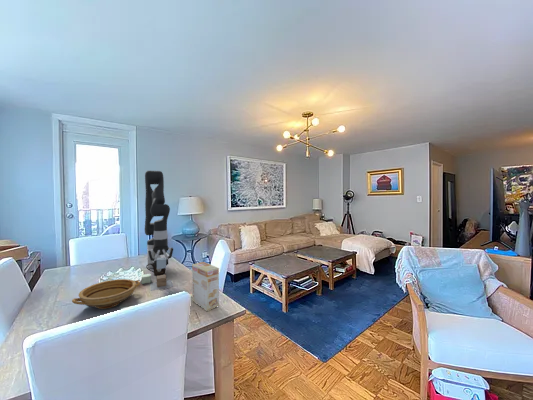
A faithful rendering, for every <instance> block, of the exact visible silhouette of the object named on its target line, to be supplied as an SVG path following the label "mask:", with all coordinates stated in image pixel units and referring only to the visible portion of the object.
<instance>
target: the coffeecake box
mask: <svg viewBox="0 0 533 400" xmlns="http://www.w3.org/2000/svg"><path fill="white" fill-rule="evenodd" d="M191 267H192V269H191V273H192V274H191V275H192V277H191V278H192V279H191V280H192V281H191V282H192V287H191V288H192V289H191V290H192V302H193V301H194V302H193V303H195V304H196V303H197V304H198V305H197V304H196V305H197V306H199V307H200V306H201V307H200V308H201V309H203V308H204V309H205V310H204V311H206V312H209V311H211V309H212V310H214V309H213V308H215V307H217V306H219V307H220V276H219V275H220V272H219V271H220V270H219V269H220V268H219V267H217V266H215V265H212V264H210V263H208V262H204V261H201V262H197V263H193V264H192V265H191ZM217 308H218V307H217ZM215 309H216V308H215ZM208 310H209V311H208Z"/></svg>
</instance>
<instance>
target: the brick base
mask: <svg viewBox="0 0 533 400" xmlns="http://www.w3.org/2000/svg"><path fill="white" fill-rule="evenodd" d="M166 280H167V274H164V275H160V276H156V282H157V287H161V286H166Z"/></svg>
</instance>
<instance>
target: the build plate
mask: <svg viewBox="0 0 533 400" xmlns="http://www.w3.org/2000/svg"><path fill="white" fill-rule="evenodd" d="M149 287H150V291H157V290H162V289H168V288H174V284H173V281H172V279H166V286H161V287H157V281H154V282H150V284H149Z"/></svg>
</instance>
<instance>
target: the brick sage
mask: <svg viewBox="0 0 533 400" xmlns="http://www.w3.org/2000/svg"><path fill="white" fill-rule="evenodd" d="M151 278H152V274H151V273H146V274H145V273H144V274H141V284H142V285H143V284H149V283H152V279H151Z"/></svg>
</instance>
